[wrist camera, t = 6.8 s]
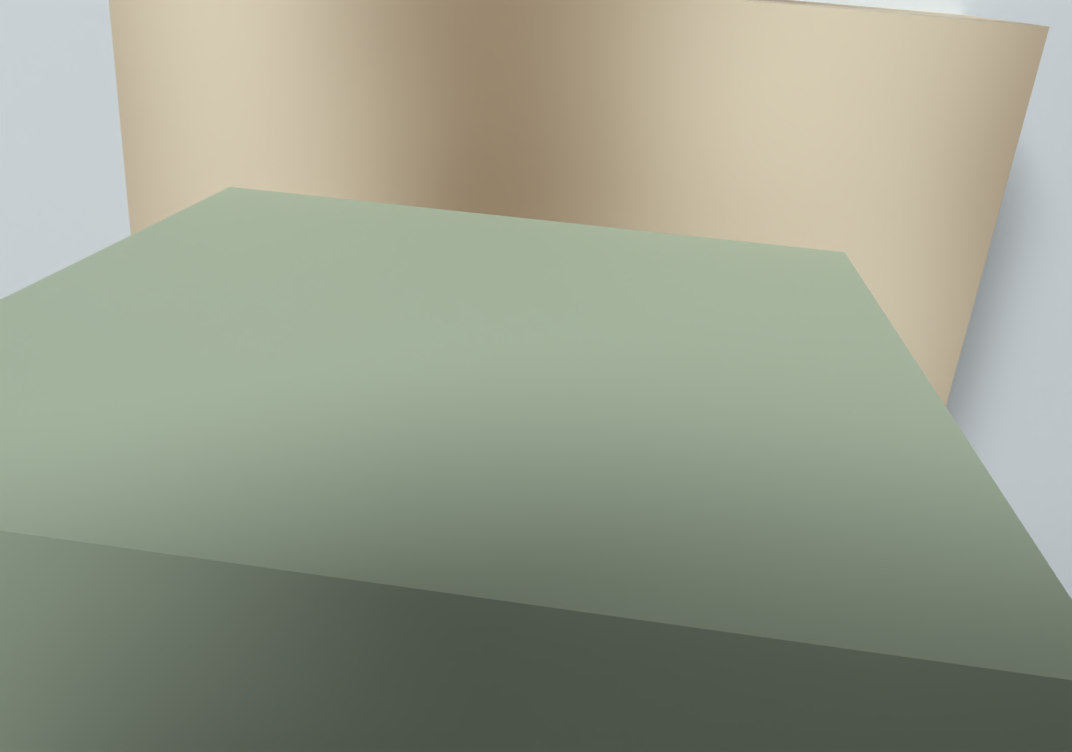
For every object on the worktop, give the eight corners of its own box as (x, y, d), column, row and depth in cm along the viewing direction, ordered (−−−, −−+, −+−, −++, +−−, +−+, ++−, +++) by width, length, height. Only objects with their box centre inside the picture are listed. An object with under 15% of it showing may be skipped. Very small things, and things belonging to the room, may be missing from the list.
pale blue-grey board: (1384, -122, 12) (1443, -130, 11) (1060, 727, 18) (1082, 768, 17) (-96, -229, 14) (-149, -243, 13) (33, 582, 19) (2, 612, 18)
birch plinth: (963, 15, 12) (1049, 26, 10) (814, 637, 16) (846, 770, 14) (219, -49, 13) (103, -54, 10) (249, 559, 17) (171, 672, 14)
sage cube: (844, 252, 9) (1129, 686, 4) (741, 740, 11) (814, 1457, 6) (229, 186, 9) (-368, 479, 4) (253, 667, 12) (-101, 1267, 6)
